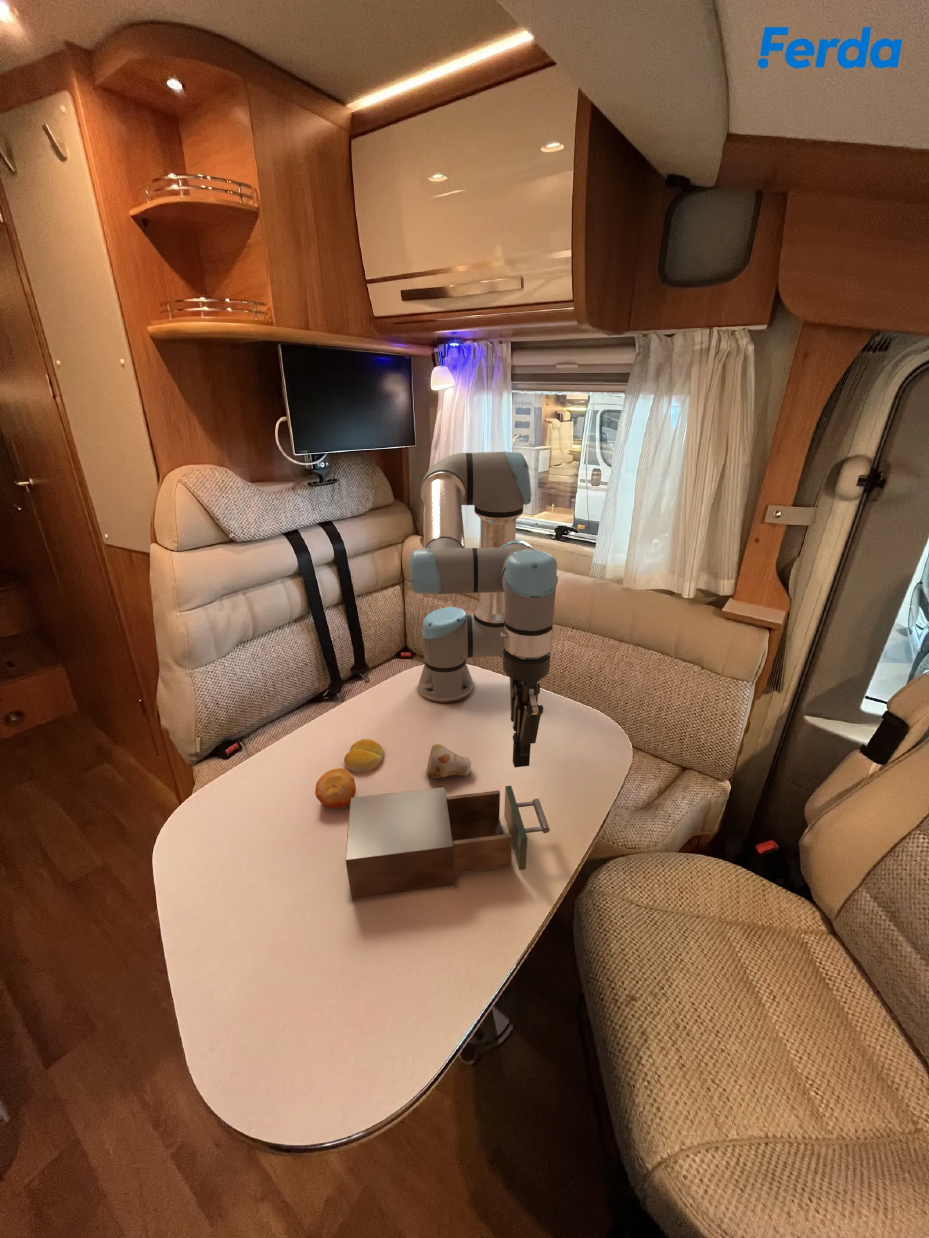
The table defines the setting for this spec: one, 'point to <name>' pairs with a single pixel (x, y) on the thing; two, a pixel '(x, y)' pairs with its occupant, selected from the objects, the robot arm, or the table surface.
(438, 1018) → the table surface
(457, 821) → the drawer
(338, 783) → the fruit
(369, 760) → the bread roll
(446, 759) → the spotted paper cup
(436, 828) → the cabinet
